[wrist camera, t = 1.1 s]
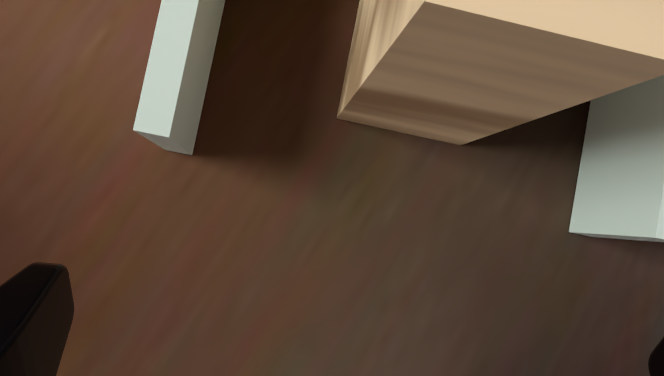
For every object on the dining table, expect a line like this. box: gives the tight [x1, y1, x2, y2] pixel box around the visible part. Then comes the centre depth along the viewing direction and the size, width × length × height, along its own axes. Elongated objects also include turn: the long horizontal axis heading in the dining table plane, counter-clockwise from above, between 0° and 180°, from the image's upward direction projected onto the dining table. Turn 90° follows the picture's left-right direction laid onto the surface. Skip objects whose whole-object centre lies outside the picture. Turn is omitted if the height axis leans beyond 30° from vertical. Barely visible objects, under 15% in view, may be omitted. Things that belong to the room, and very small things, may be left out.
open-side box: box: [133, 0, 664, 242], centre depth 19 cm, size 10×17×5 cm, turn 79°
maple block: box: [337, 0, 664, 145], centre depth 16 cm, size 5×5×12 cm
